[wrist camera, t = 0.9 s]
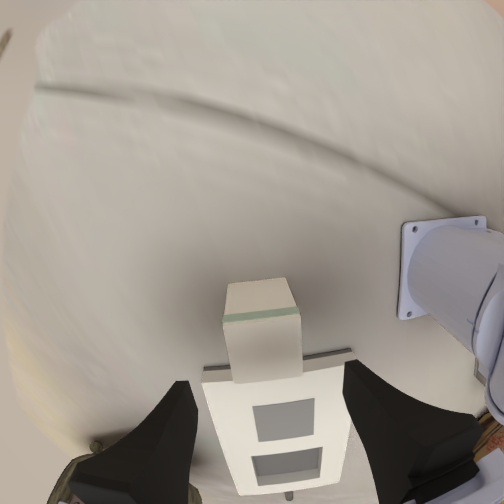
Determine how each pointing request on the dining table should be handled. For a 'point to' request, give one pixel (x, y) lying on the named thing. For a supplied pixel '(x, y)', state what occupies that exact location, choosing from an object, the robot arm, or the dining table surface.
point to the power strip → (282, 426)
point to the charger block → (262, 331)
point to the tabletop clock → (67, 496)
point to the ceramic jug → (489, 438)
